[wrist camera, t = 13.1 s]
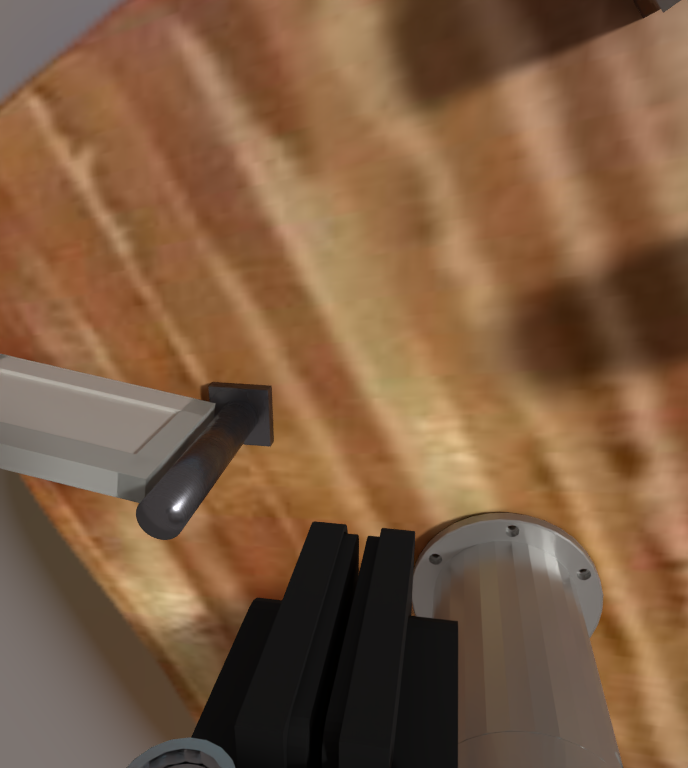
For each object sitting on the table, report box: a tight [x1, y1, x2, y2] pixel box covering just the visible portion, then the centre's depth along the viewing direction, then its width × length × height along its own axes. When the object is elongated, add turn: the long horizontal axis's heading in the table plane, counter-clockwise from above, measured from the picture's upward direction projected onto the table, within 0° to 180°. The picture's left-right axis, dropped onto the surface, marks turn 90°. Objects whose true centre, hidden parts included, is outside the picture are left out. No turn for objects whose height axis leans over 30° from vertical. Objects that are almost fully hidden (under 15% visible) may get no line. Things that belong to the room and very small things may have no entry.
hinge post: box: [136, 382, 274, 540], centre depth 37 cm, size 4×4×13 cm
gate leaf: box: [0, 354, 215, 503], centre depth 38 cm, size 16×2×10 cm, turn 80°
